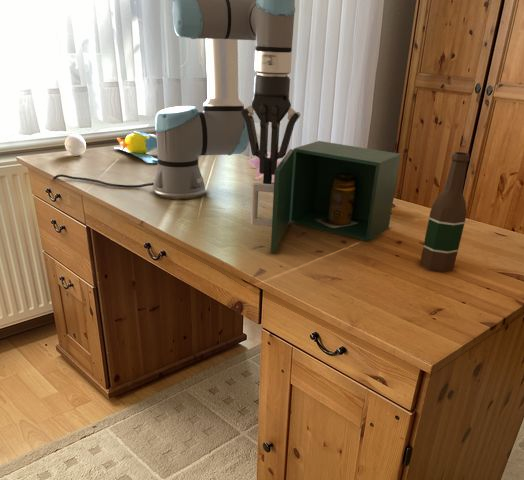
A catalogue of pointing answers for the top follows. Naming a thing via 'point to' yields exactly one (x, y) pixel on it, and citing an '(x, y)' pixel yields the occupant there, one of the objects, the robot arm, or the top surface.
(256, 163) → the lily
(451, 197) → the beer bottle
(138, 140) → the yellow and blue toy
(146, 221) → the top surface
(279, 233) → the green cabinet door
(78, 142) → the white egg
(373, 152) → the green open cabinet
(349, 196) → the condiment
